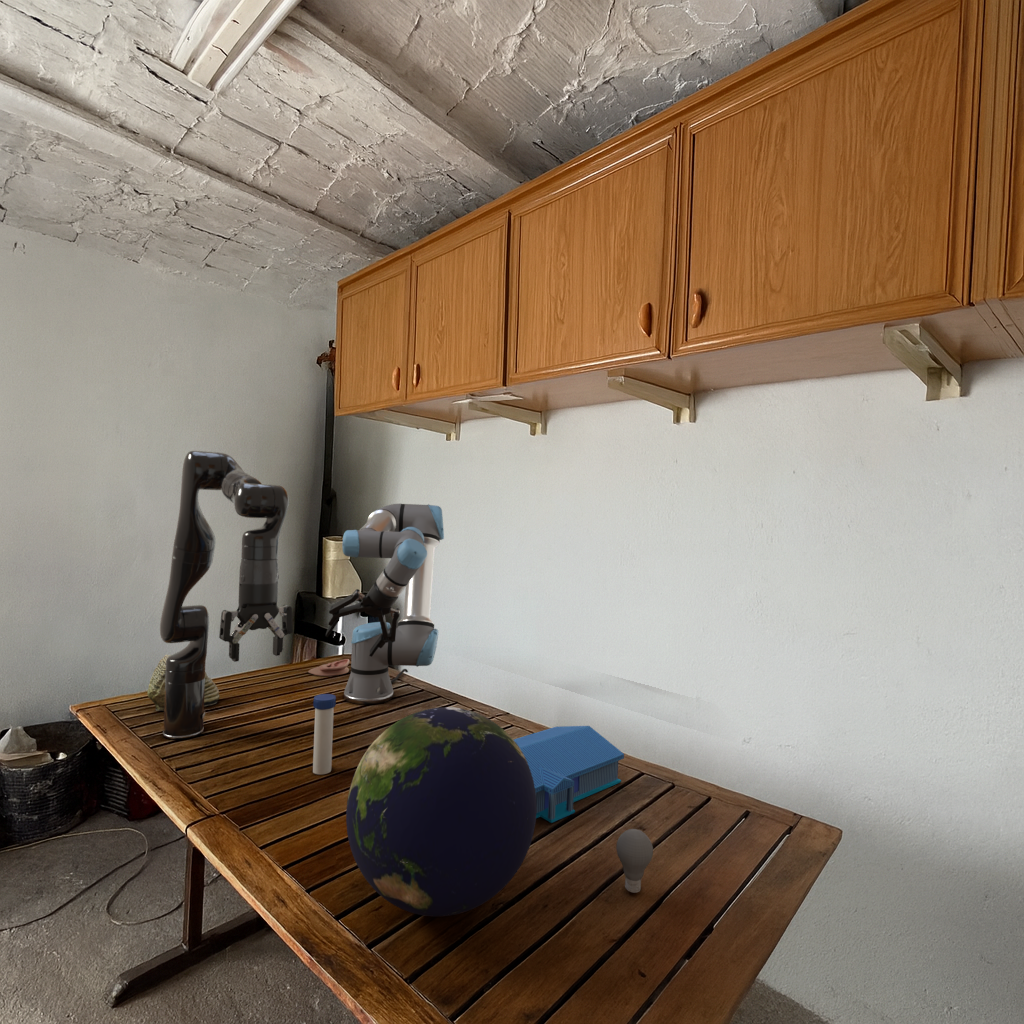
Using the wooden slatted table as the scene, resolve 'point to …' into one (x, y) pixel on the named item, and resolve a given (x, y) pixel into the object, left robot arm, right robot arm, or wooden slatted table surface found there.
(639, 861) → the light bulb
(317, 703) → the lid
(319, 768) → the white tube
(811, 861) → the wooden slatted table surface
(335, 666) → the anatomical model
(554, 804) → the model building
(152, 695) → the fossil
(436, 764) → the globe
